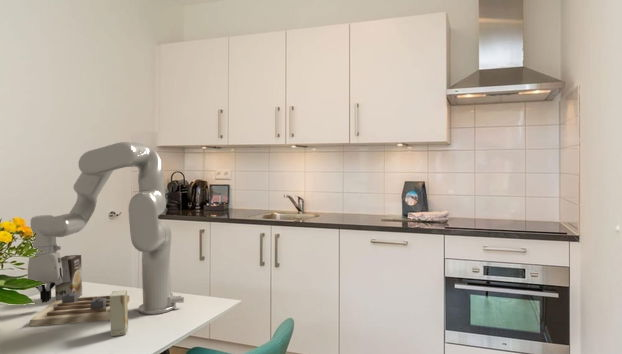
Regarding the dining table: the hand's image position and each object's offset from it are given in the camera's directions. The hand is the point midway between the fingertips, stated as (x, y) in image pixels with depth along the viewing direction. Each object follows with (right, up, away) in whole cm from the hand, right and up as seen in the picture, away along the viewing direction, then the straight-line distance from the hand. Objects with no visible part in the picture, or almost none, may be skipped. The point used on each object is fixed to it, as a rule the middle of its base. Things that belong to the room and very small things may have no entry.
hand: (46, 301), depth 153 cm
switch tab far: (+8, -1, +2) cm, 8 cm away
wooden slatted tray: (+15, -3, -2) cm, 15 cm away
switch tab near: (+21, -1, -5) cm, 22 cm away
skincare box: (+35, -4, -21) cm, 41 cm away
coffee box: (0, -3, +14) cm, 15 cm away
